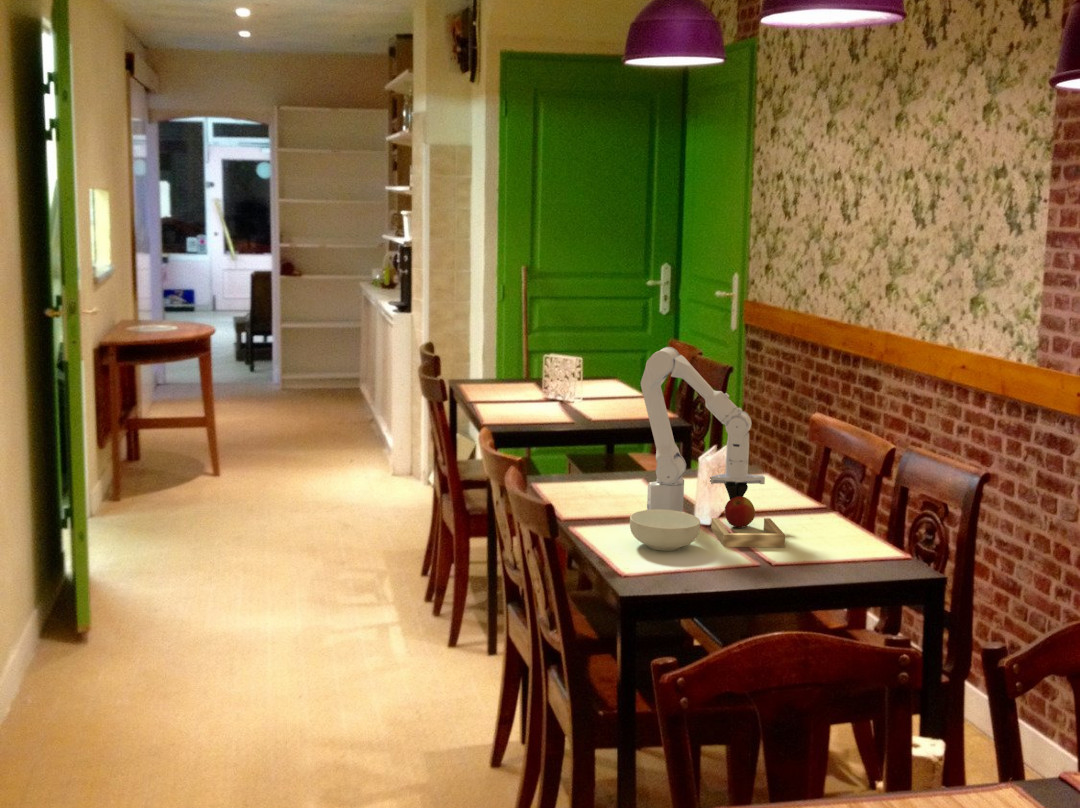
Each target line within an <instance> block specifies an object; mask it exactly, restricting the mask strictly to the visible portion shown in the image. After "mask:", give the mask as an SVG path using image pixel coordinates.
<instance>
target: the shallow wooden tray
mask: <svg viewBox="0 0 1080 808" xmlns="http://www.w3.org/2000/svg"><path fill="white" fill-rule="evenodd" d="M710 529H711V531H712V532H713V534H714V535H715V537H716V538H717V540H718V541H719V542H720V544H721V545H722V546H723V548H785V547H786V534H785V533H784V532H783V531H782V529H780V527H779V526H778V525H777V524H776V523H775V522H774V521H773V520H772V518H769V517H767V518H765V517H764V518H763V531H764V532H765V533H763V532H761V533H759V532H757V533H754V532H753V533H749V532H745V533H744V532H743V533H742V532H741V533H740V532H737V533H736V532H734V533H733V532H729V531H728V530H727V528H726V527H725V526H724V524H723V523H722V522H721V521H720V519H719V518H718V517H711V527H710Z"/></svg>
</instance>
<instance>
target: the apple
mask: <svg viewBox="0 0 1080 808" xmlns="http://www.w3.org/2000/svg"><path fill="white" fill-rule="evenodd" d="M724 516H725V518H726V521H727V522H728V524H729V525H730V526H733V527H734V528H738V529H740V528H745V527H747V526H748V525H750V524H751V523H752V522H753V521H754V519H755V517H756V510H755V506H754V504H753V503H752V501H751V500H750V499H749V498H747V497H745V496H743V497H742V496H738V497H734V498H732V499H731V500H730V499H728V501H727V502H726V504H725V507H724Z"/></svg>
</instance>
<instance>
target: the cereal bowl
mask: <svg viewBox="0 0 1080 808" xmlns="http://www.w3.org/2000/svg"><path fill="white" fill-rule="evenodd" d="M629 529H630V532H631V534H632V536H633V537H634V538H635V539H636V540H637V541H638V542H640V543H642V544H644V545H647V548H650V549H652V550H657V551H663V552H667V551H668V552H669V551H676V550H679V549H680V548H683V547H686V546H688V545H690V544H692V543H693V542H694V541H695V540H696V539H697V538H698V536H699V533H700V529H701V519H700V518H699V517H697V516H695V515H693V514H690V513H689V512H688V513H687V512H684V511H683V512H680V511H673V510H660V509H655V510H647V509H644V510H639V511H636V512H633V513H632V514H630V516H629Z"/></svg>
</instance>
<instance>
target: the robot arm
mask: <svg viewBox="0 0 1080 808" xmlns="http://www.w3.org/2000/svg"><path fill="white" fill-rule="evenodd" d="M669 375H670V377H671V378H678V379H682V380H684V381H685V382H686V383H687V384H688V385H689V386H690V387H691V388H692V389H693V390H694V391H696V393H698V395H700V396H701V397H702V398H703V399H704V401H705V408H706V409H707V410H708V411H709V412H710V413H711V414H712V415H713V416H714V417H715V418H716V419H717V420H718V421H719V422H720V423H721V424H722V425H725V431H726V433H727V441H726V454H725V455H726V456H725V473H720V474H715V475H716V476H712V477H710V479H711V480H710V482H711V484H710V485H714V484H724V487H725V489H726V492H727V494H728V498H729V500H731V499H732V498H734V497H738V496H742V497H745V496H744V495H745V494H746V492H747V491H748V489H749V486H748V484H750V485H751V484H754V485H755V484H756V485H757V484H759V485H765V483H766V477H765V476H764V475H759V474H749V473H748V472H749V456H750V455H749V454H750V432H749V431H750V430H751V429H752V419H751V417H750V416H749V414H748V413H747V412H746V411H743V409H742V407H738V406H737V405H736V404H735V403H734V402H733V401H732V400H731V399H730V394H729V393H727V392H725V393H724V392H723V391H721V390H714V389H713V387H712V386H711V385H710V384H709V383H708V381H706V380H705V379H704V377H702V375H701V374H700V373H699V372H698V371H697V370H696V369H695V368H694V366H693V365H692V364H691V363H690V361H688V359H686V357H685V356H683V354H680V353H679V352H678V350H677V349H676V348H674V347H671V346H665V347H663V348H661V349H660V350H658V351H656V352H654V353H653V354H651V356H650V357H649V358H648V359H647V361H646V363H645V368H644V371H643V374H642V376H641V380H640V387H641V394H642V396H643V400H644V404H645V409H646V412H647V416H648V420H649V424H650V429H651V432H652V436H653V440H654V445H655V450H656V451H655V452H656V453H655V462H656V468H655V474H656V481H650V482H648V484H647V496H646V497H647V498H646V499H647V500H646V501H647V502H646V510H655V509H660V510H673V511H680V512H684V497H685V495H684V494H685V493H684V492H685V479H684V478H683V476H682V475H684V473H685V472H686V469H687V463H686V460H685V458H684V457H683V456H682V454H681V452H680V449H679V447H678V446H677V444H676V442H675V439H674V438H675V437H674V435H673V434H674V433H673V430H672V426H671V422H670V418H669V414H668V409H667V406H666V402H665V396H664V393H663V390H662V385H663V383H664V382H665V381H666V380H667V377H668V376H669Z"/></svg>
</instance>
